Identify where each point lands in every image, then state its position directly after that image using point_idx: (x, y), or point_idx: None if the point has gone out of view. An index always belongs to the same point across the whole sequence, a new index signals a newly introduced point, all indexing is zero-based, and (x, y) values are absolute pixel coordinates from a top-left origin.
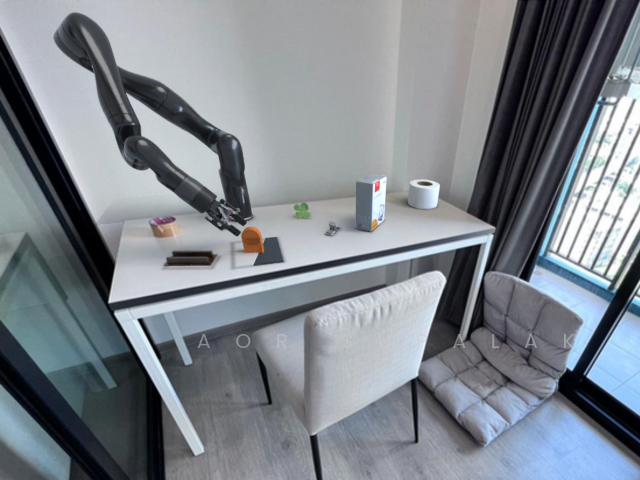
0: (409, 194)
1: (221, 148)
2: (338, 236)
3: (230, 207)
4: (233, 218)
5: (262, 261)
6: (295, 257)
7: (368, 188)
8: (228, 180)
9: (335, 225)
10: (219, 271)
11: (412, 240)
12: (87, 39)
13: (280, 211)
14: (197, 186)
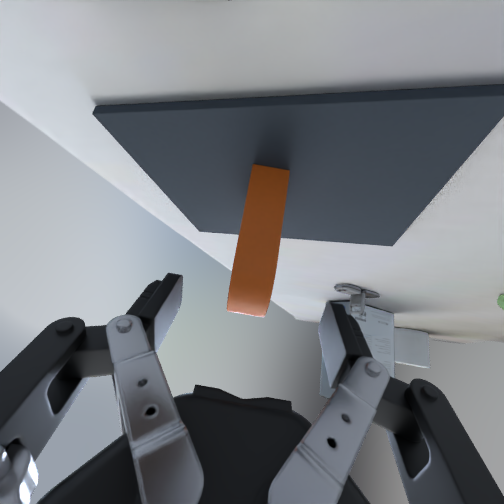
0: (414, 346)
1: None
2: (327, 287)
3: (405, 476)
4: (358, 359)
5: (181, 201)
6: (229, 242)
7: (325, 387)
8: None
9: (349, 307)
10: (13, 29)
11: (280, 303)
12: None
13: None
14: None
